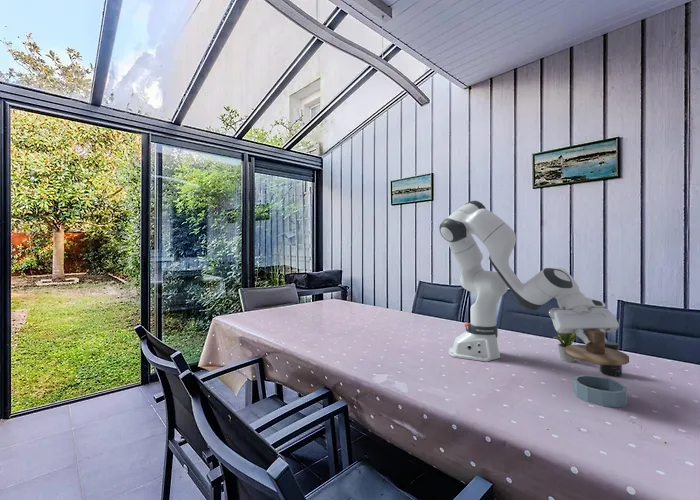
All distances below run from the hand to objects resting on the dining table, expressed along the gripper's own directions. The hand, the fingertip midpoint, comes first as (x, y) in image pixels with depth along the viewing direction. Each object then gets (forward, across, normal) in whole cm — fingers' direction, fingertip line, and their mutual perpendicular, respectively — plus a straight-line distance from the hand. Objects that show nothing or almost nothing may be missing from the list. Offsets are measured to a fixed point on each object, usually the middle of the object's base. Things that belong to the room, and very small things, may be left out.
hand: (596, 343), depth 108 cm
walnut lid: (+3, 0, +4) cm, 4 cm away
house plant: (-12, +15, +38) cm, 42 cm away
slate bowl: (+12, +2, +14) cm, 18 cm away
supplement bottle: (-1, +21, +28) cm, 35 cm away
